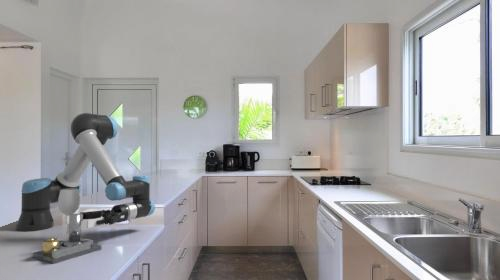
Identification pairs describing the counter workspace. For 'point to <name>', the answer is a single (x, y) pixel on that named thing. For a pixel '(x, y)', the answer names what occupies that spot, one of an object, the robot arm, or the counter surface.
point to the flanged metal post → (74, 230)
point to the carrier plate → (49, 257)
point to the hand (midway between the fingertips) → (76, 222)
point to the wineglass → (68, 206)
